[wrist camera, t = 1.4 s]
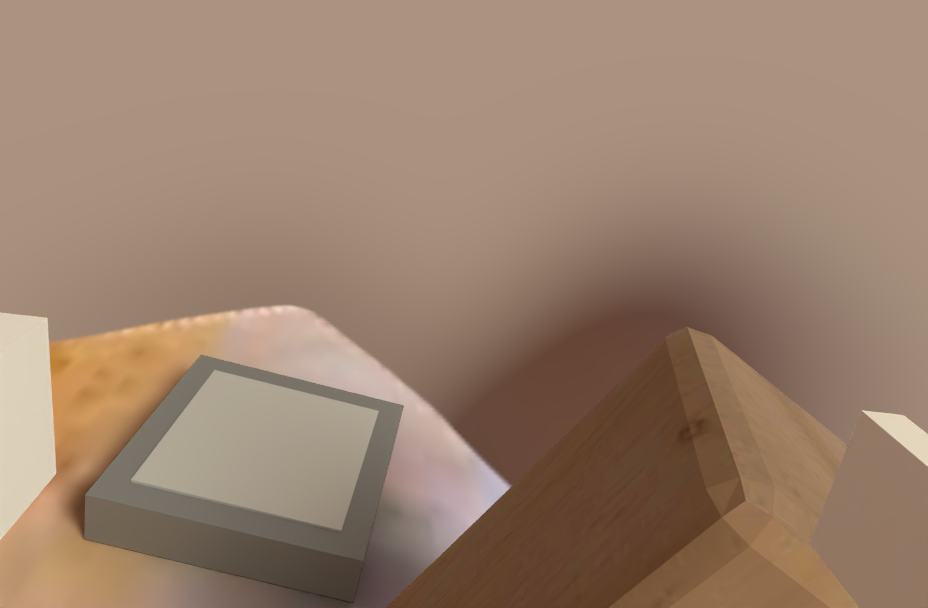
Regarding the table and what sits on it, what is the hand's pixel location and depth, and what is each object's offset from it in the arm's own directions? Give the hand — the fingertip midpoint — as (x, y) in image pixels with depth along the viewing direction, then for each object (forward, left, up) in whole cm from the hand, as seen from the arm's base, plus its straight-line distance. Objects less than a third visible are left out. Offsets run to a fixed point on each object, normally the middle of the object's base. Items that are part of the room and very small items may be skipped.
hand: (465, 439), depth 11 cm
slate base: (-8, +23, -24) cm, 34 cm away
